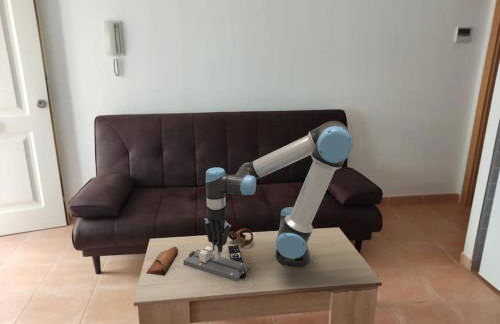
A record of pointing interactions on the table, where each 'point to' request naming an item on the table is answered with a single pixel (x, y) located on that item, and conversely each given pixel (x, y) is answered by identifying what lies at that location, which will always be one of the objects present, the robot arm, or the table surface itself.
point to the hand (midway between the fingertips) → (218, 258)
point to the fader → (206, 254)
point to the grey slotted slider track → (217, 266)
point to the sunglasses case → (163, 262)
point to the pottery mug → (240, 235)
